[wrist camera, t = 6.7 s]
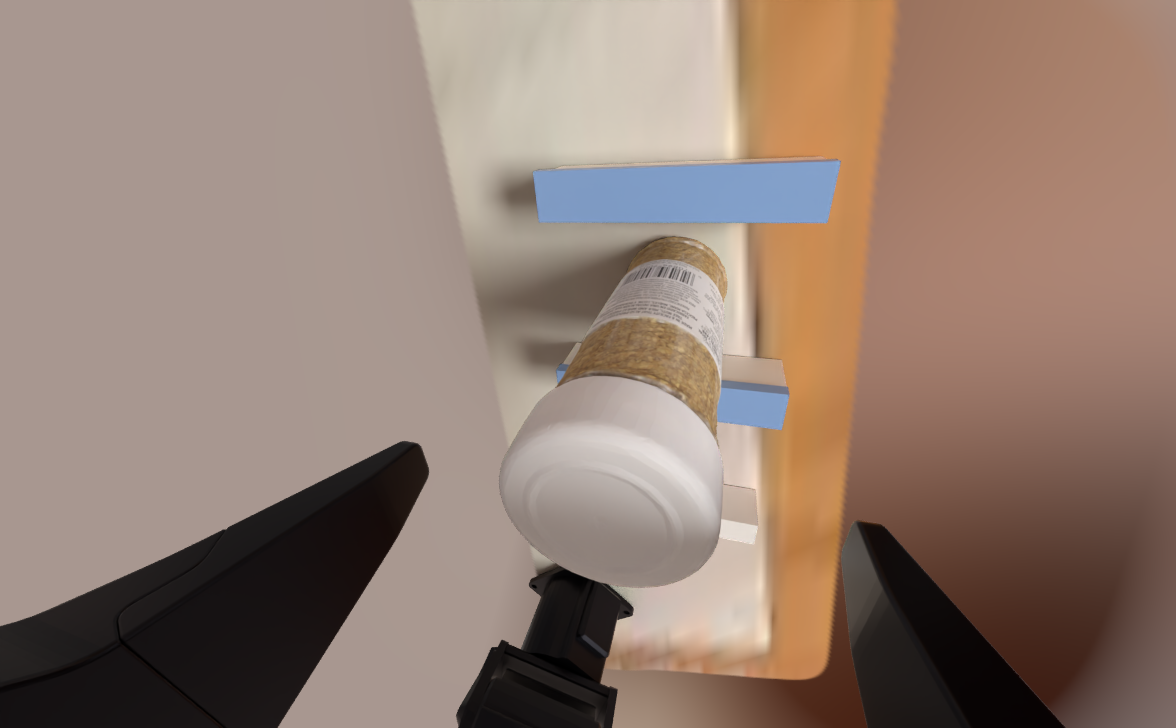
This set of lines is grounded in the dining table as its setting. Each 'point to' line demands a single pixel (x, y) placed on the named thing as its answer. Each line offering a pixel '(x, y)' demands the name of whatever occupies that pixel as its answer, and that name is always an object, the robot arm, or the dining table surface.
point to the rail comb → (703, 198)
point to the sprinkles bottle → (631, 431)
